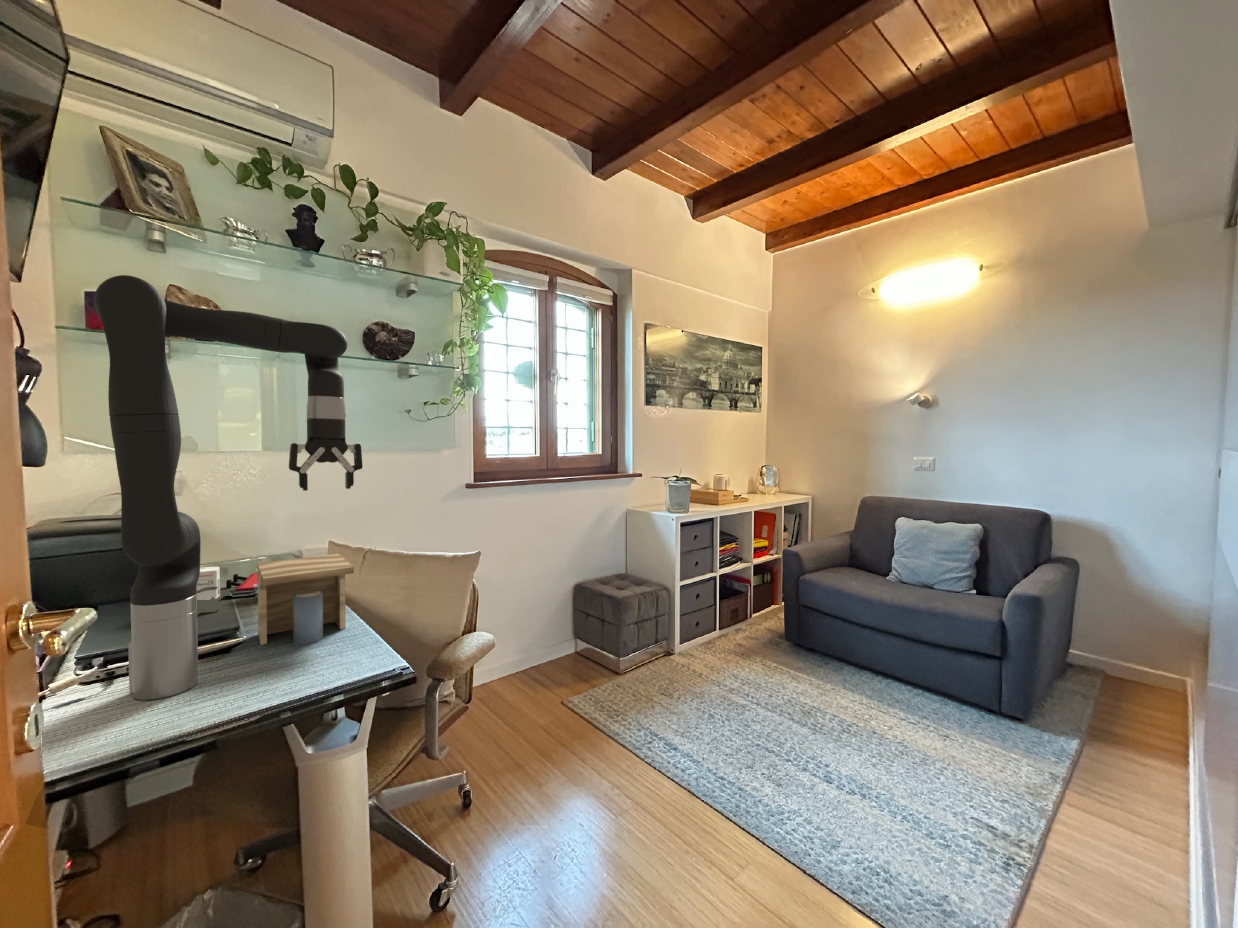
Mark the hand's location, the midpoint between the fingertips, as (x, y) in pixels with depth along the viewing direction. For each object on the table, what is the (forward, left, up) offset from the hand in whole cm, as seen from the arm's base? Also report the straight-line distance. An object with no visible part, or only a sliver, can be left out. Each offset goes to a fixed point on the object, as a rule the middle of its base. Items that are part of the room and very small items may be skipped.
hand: (326, 489), depth 115 cm
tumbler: (-8, +2, -36) cm, 37 cm away
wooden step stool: (-10, +4, -36) cm, 38 cm away
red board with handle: (-61, +37, -37) cm, 81 cm away
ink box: (-52, +12, -36) cm, 65 cm away
